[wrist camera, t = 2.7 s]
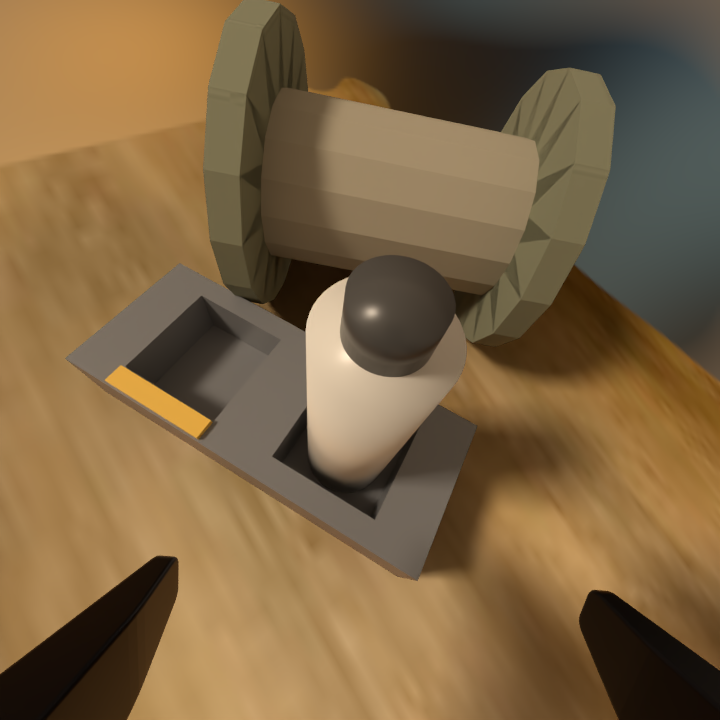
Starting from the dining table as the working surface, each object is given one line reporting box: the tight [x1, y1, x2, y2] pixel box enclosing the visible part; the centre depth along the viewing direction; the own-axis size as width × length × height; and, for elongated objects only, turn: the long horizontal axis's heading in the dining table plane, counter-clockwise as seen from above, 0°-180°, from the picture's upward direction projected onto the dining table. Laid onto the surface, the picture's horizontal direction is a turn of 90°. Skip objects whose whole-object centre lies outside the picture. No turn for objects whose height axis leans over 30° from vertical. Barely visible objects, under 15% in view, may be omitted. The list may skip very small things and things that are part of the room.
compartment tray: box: [65, 263, 477, 581], centre depth 20 cm, size 20×8×4 cm, turn 61°
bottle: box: [306, 255, 467, 493], centre depth 14 cm, size 4×4×14 cm
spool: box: [203, 0, 615, 347], centre depth 22 cm, size 16×15×15 cm
